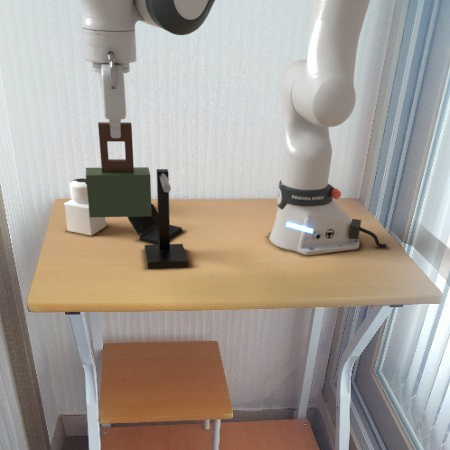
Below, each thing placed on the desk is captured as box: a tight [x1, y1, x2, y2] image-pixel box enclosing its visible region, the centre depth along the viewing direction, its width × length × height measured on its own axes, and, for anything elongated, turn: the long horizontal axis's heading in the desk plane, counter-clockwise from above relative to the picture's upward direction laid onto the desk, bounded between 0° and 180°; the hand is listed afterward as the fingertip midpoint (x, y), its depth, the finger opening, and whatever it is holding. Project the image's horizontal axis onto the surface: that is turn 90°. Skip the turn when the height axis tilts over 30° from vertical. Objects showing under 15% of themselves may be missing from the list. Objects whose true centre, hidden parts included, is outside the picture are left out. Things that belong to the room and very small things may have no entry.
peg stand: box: [144, 168, 189, 270], centre depth 129 cm, size 9×11×19 cm
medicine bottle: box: [63, 177, 107, 236], centre depth 144 cm, size 7×7×12 cm
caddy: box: [85, 121, 152, 218], centre depth 112 cm, size 12×5×16 cm, turn 100°
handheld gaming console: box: [127, 203, 183, 245], centre depth 145 cm, size 12×7×10 cm
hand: (115, 135), depth 108 cm, fingers closed on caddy
